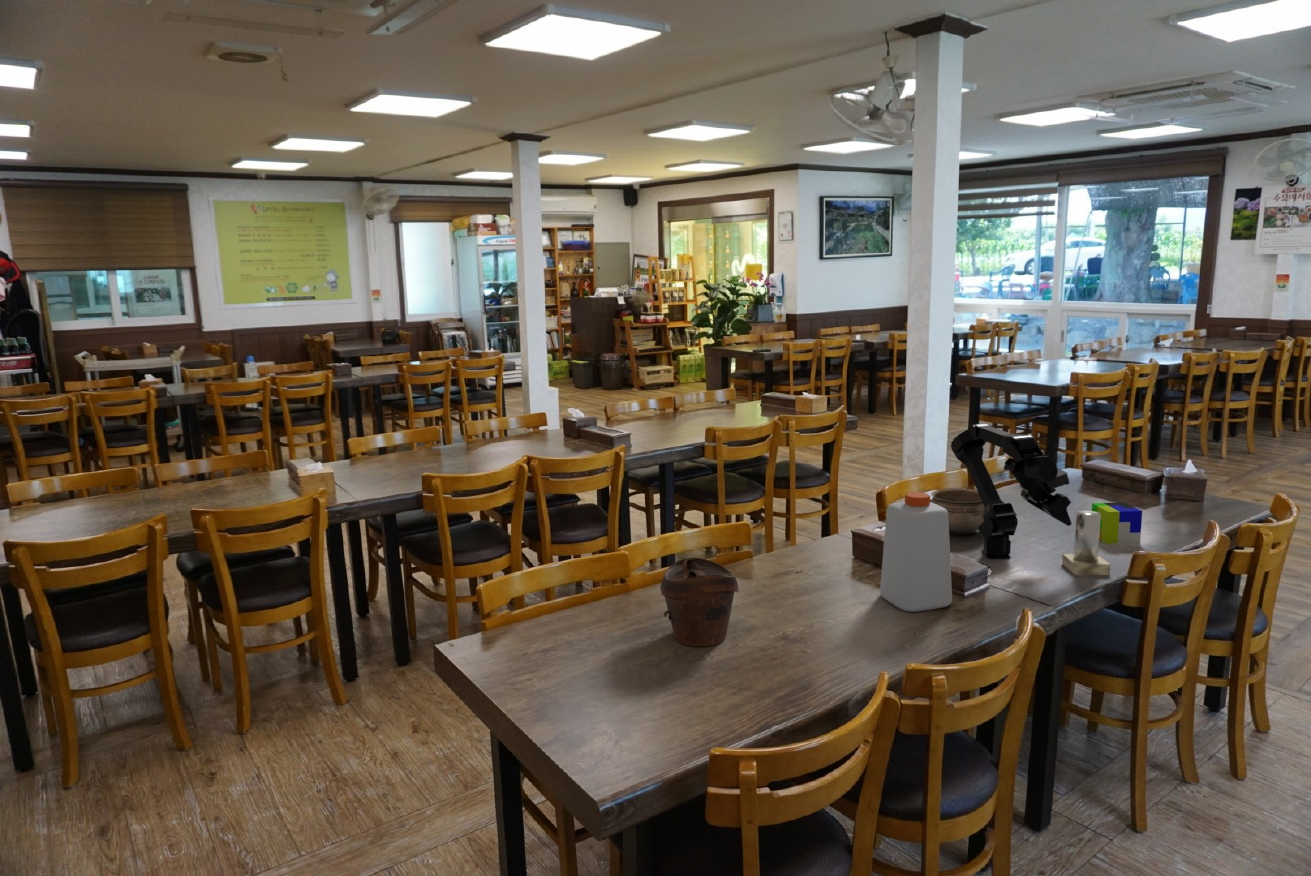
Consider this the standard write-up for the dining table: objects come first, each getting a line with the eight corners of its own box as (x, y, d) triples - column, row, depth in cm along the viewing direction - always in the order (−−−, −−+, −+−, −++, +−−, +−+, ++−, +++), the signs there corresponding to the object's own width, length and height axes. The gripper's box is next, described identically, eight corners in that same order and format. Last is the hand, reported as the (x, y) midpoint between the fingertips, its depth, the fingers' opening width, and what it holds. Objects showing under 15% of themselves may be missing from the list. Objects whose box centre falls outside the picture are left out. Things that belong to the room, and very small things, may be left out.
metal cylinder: (1078, 562, 231) (1081, 516, 229) (1069, 555, 237) (1072, 510, 234) (1101, 562, 231) (1104, 516, 228) (1092, 555, 236) (1094, 510, 234)
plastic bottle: (905, 615, 208) (907, 505, 203) (873, 594, 222) (874, 490, 217) (958, 607, 212) (962, 498, 207) (924, 586, 226) (926, 484, 221)
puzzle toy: (1140, 543, 254) (1142, 510, 252) (1106, 544, 255) (1108, 512, 253) (1122, 533, 264) (1124, 502, 262) (1090, 534, 264) (1092, 503, 262)
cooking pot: (1011, 533, 268) (1013, 496, 265) (979, 547, 256) (981, 508, 253) (940, 518, 287) (941, 483, 284) (908, 530, 275) (908, 493, 273)
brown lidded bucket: (688, 613, 214) (686, 545, 211) (755, 632, 202) (754, 560, 199) (643, 638, 201) (639, 566, 198) (711, 659, 188) (709, 583, 185)
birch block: (1075, 575, 230) (1076, 564, 230) (1061, 564, 239) (1062, 553, 238) (1109, 574, 230) (1110, 564, 229) (1094, 563, 238) (1095, 553, 238)
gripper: (1069, 467, 224) (1103, 511, 226) (1038, 453, 242) (1070, 493, 244) (1034, 493, 225) (1069, 537, 227) (1006, 477, 243) (1038, 518, 245)
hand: (1062, 520), depth 236 cm, fingers open, 9 cm apart
